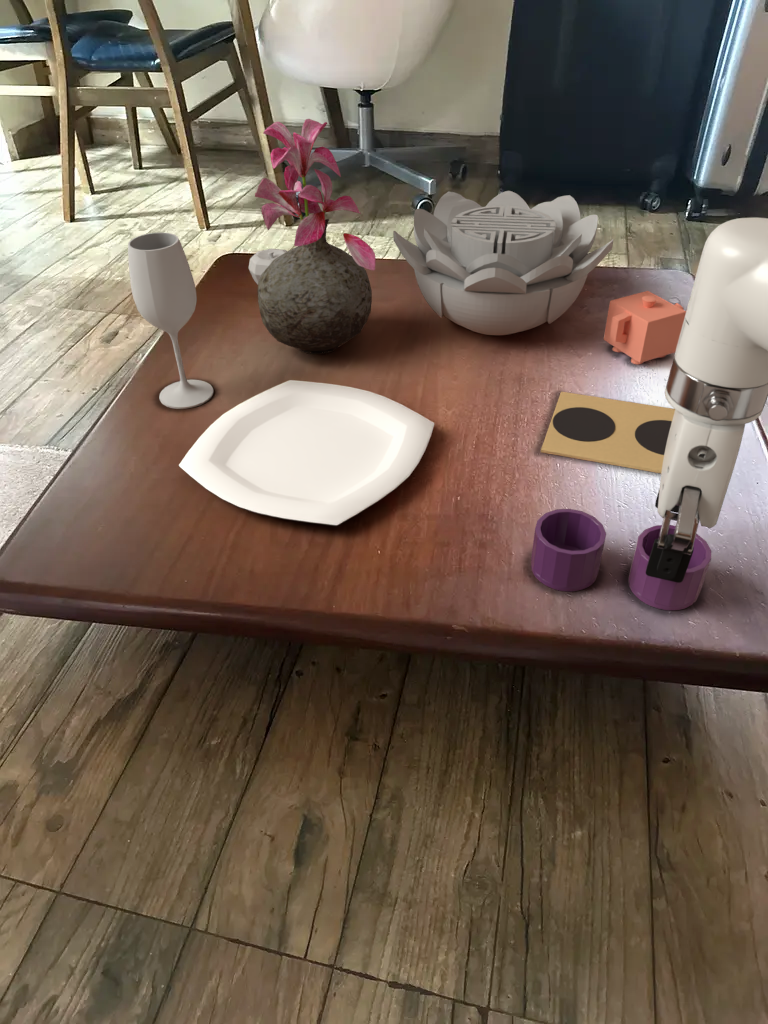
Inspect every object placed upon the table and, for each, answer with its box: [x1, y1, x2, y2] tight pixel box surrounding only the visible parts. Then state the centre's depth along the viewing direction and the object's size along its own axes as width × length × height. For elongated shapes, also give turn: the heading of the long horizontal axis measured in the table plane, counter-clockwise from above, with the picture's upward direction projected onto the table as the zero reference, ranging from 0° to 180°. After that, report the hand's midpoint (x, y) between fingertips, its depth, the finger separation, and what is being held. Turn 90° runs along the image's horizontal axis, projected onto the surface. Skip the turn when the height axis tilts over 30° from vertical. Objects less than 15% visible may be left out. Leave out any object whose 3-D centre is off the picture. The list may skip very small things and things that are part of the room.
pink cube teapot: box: [603, 290, 686, 365], centre depth 109 cm, size 8×12×8 cm, turn 116°
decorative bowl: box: [392, 190, 614, 336], centre depth 115 cm, size 30×30×15 cm
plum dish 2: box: [627, 524, 712, 611], centre depth 74 cm, size 7×7×5 cm
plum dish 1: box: [530, 508, 607, 592], centre depth 77 cm, size 7×7×5 cm
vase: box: [254, 118, 377, 355], centre depth 107 cm, size 17×17×30 cm
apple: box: [248, 248, 288, 286], centre depth 129 cm, size 8×8×7 cm
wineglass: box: [127, 231, 214, 410], centre depth 99 cm, size 8×8×21 cm
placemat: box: [540, 391, 675, 474], centre depth 96 cm, size 18×14×1 cm
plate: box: [178, 379, 435, 527], centre depth 93 cm, size 27×27×2 cm
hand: (667, 541), depth 73 cm, fingers open, 9 cm apart
